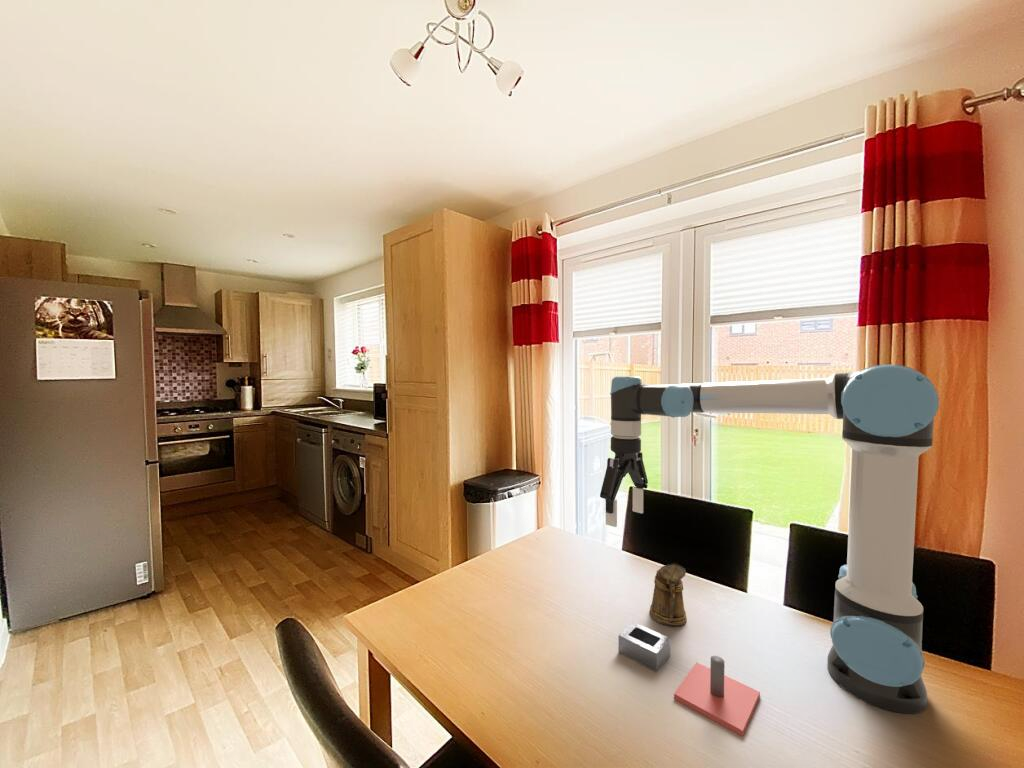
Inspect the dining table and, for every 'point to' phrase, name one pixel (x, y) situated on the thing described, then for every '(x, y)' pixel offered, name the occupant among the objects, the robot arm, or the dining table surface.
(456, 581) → the dining table surface
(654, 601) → the wooden mug
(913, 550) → the robot arm
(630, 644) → the link
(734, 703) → the stand
